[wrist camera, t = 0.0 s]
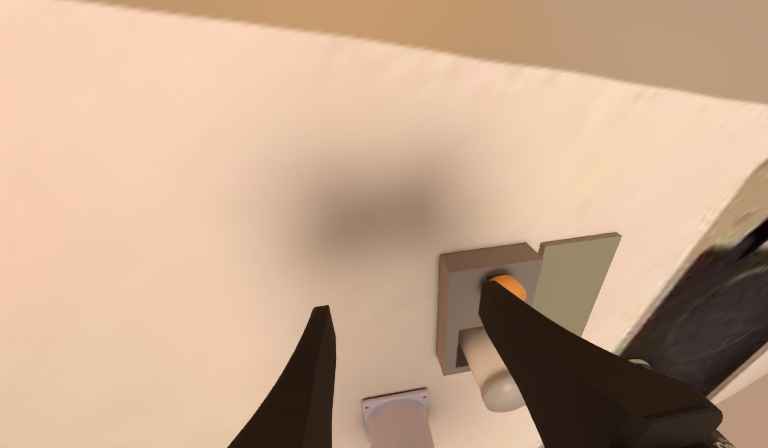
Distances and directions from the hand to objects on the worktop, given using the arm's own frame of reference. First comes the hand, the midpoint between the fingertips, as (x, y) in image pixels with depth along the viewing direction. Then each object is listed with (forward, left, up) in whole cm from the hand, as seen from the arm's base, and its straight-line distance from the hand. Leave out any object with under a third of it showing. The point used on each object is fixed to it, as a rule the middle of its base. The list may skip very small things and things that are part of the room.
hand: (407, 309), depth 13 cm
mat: (-12, -18, -10) cm, 24 cm away
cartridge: (-14, -9, -10) cm, 20 cm away
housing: (-11, -9, -10) cm, 18 cm away
